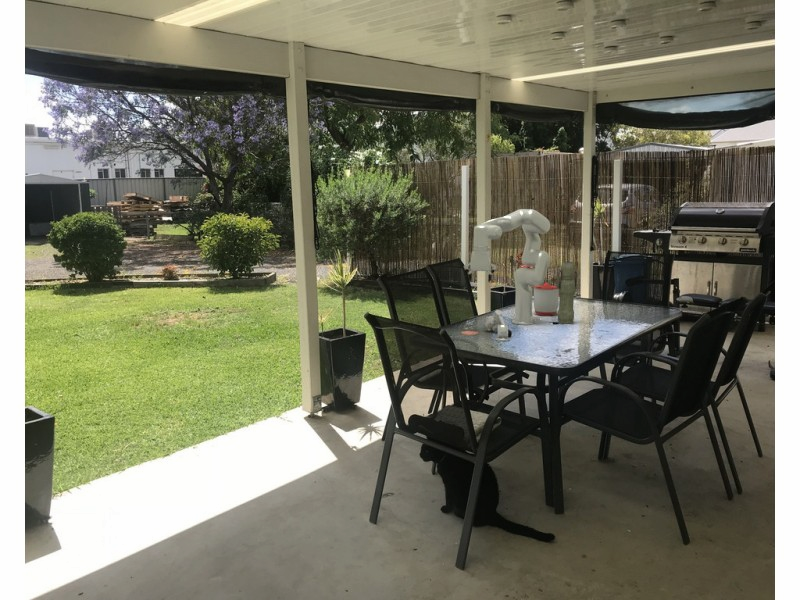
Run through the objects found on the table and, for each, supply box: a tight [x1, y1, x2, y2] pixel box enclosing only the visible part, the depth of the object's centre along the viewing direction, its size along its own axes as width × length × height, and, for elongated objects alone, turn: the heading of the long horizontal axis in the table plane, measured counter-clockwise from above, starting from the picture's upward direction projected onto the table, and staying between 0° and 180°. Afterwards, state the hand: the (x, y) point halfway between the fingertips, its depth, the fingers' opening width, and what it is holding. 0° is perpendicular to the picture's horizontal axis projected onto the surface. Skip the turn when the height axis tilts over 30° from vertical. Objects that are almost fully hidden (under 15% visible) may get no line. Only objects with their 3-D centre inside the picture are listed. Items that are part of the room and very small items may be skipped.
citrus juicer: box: [532, 281, 560, 317], centre depth 392 cm, size 16×17×20 cm
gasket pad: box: [460, 330, 479, 336], centre depth 341 cm, size 9×9×1 cm
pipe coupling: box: [495, 324, 511, 343], centre depth 325 cm, size 7×7×8 cm
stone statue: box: [556, 261, 579, 325], centre depth 364 cm, size 9×12×35 cm
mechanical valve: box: [484, 309, 513, 338], centre depth 340 cm, size 10×18×15 cm
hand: (479, 281), depth 339 cm, fingers open, 9 cm apart
